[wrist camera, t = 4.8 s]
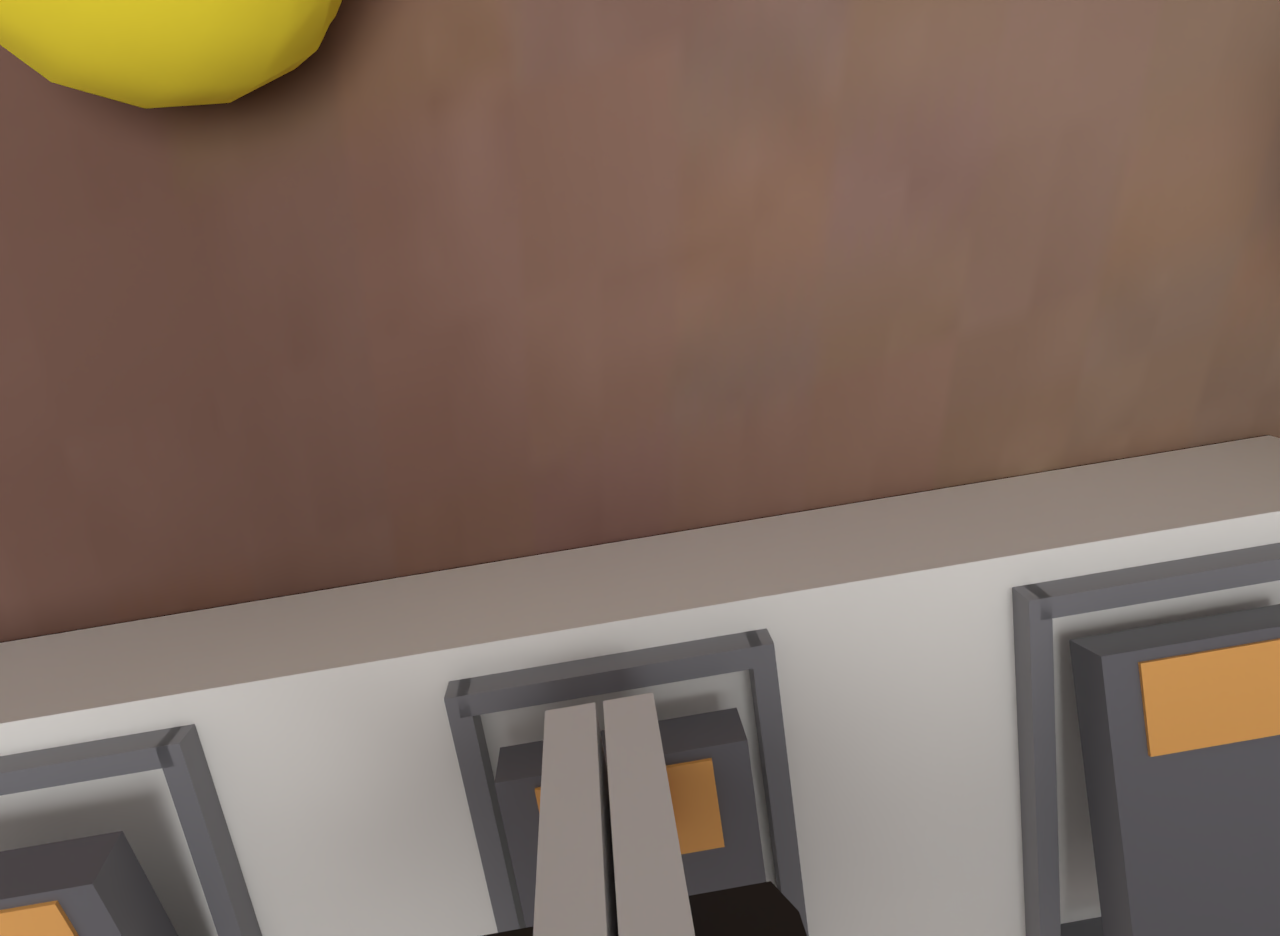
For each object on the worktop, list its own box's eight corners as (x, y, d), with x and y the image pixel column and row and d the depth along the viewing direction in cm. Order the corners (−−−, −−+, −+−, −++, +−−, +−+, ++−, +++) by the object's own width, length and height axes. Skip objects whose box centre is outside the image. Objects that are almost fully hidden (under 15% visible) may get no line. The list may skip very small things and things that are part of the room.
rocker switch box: (1641, 816, 23) (1899, 956, 18) (76, 1094, 22) (-54, 1315, 17) (1721, 360, 20) (2055, 396, 15) (-102, 659, 19) (-317, 792, 14)
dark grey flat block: (775, 994, 16) (788, 1045, 15) (561, 1032, 16) (559, 1086, 15) (736, 707, 15) (748, 742, 14) (500, 747, 15) (494, 786, 14)
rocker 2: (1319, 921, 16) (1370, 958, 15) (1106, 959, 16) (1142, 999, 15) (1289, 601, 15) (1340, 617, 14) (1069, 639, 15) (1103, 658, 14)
